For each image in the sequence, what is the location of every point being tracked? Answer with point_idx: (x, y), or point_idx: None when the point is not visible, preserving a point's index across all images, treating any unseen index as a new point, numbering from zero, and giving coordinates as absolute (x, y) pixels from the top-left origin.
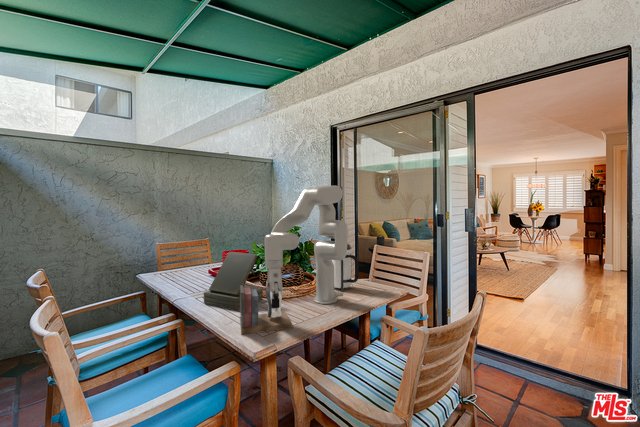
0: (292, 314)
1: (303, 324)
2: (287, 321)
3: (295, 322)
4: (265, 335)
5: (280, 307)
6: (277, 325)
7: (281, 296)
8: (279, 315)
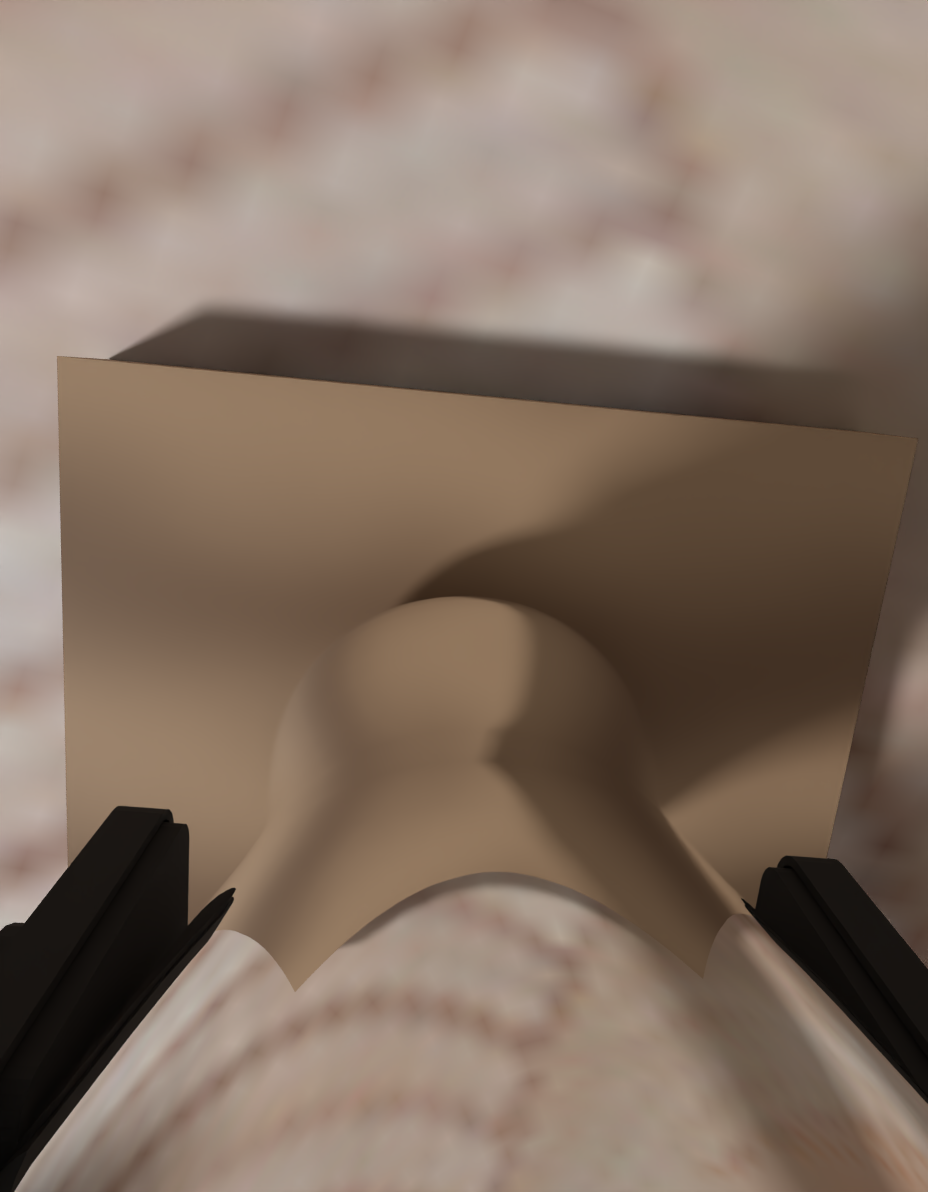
0: (56, 149)
1: (807, 96)
2: (771, 503)
3: (605, 248)
4: (920, 952)
5: (566, 720)
6: (839, 755)
7: (832, 998)
8: (629, 698)
